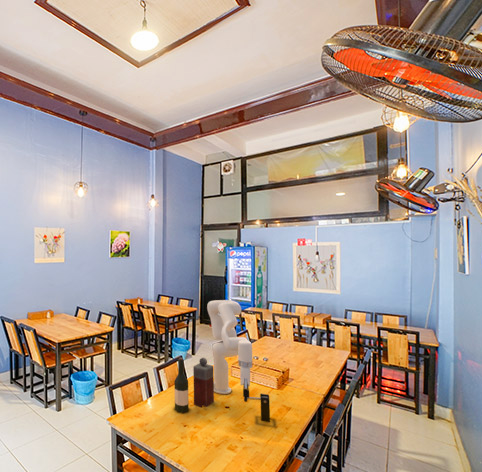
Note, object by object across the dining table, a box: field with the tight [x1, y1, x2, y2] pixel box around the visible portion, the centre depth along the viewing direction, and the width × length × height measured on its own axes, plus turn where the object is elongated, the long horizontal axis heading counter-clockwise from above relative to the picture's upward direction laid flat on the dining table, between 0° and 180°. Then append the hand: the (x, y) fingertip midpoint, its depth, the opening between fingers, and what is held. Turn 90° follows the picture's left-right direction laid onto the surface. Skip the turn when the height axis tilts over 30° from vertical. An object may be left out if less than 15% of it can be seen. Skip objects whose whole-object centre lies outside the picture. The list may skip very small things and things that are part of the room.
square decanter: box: [192, 357, 215, 408], centre depth 193 cm, size 9×11×28 cm
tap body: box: [259, 393, 271, 423], centre depth 172 cm, size 9×8×14 cm
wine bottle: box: [174, 357, 190, 414], centre depth 186 cm, size 8×8×30 cm
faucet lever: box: [243, 396, 267, 403], centre depth 174 cm, size 12×6×2 cm, turn 69°
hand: (246, 396), depth 175 cm, fingers closed
